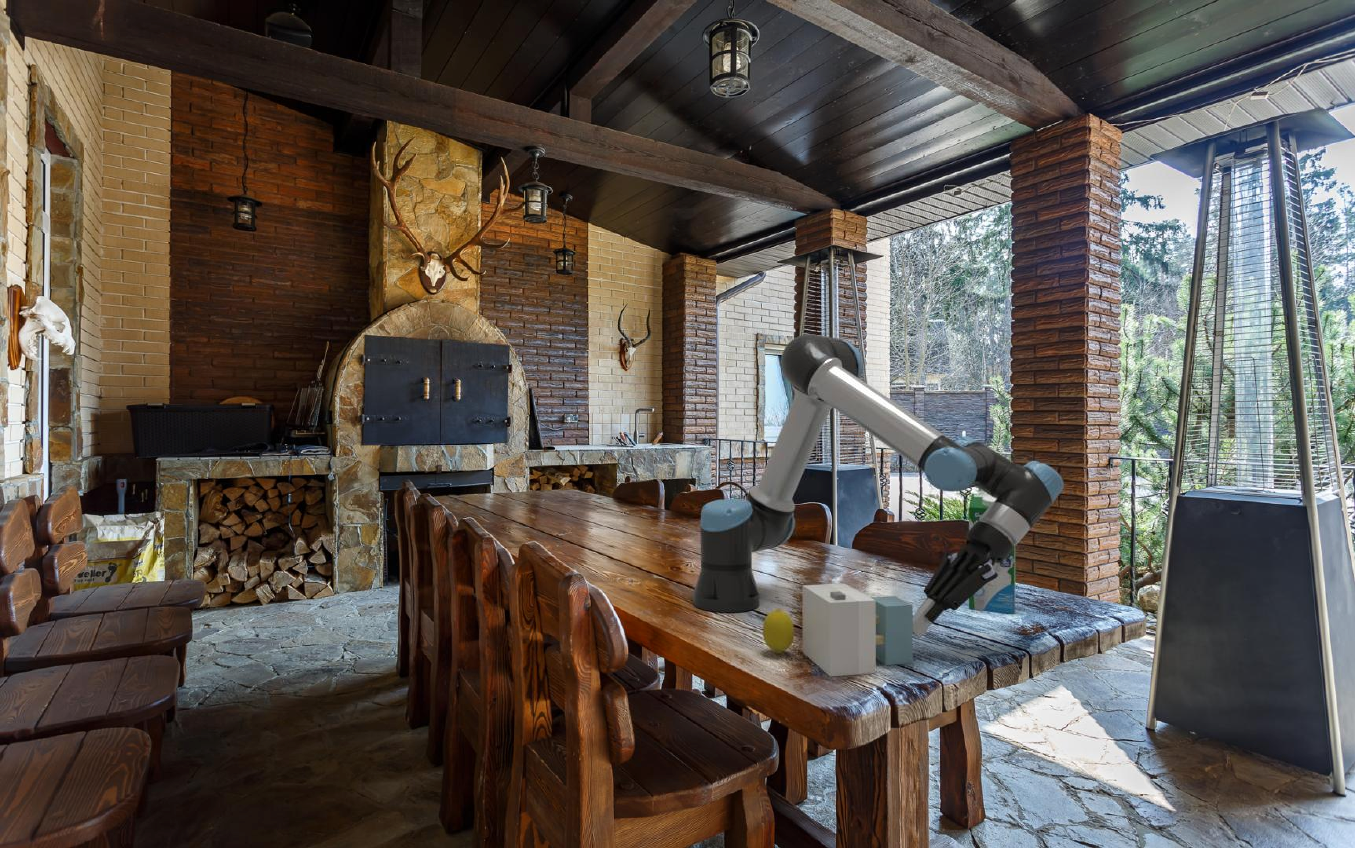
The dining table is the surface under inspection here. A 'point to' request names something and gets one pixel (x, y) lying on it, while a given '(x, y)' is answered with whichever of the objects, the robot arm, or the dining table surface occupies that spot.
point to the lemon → (778, 631)
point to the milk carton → (1002, 588)
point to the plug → (894, 630)
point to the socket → (839, 629)
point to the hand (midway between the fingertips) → (912, 631)
